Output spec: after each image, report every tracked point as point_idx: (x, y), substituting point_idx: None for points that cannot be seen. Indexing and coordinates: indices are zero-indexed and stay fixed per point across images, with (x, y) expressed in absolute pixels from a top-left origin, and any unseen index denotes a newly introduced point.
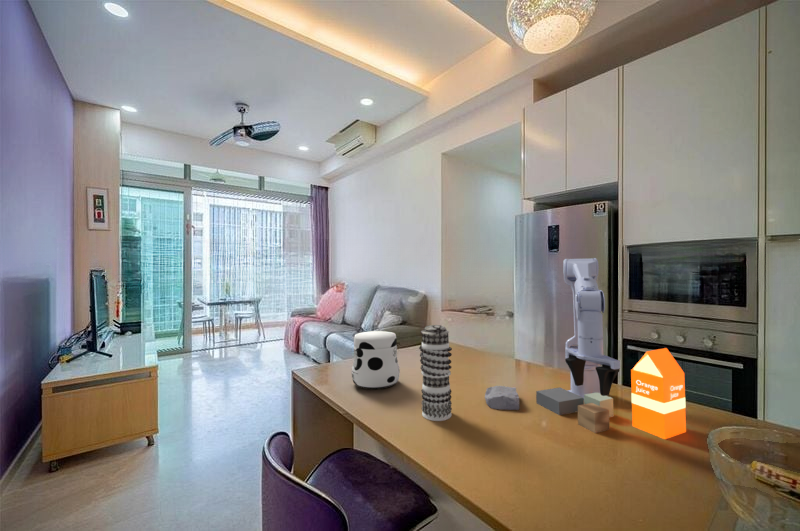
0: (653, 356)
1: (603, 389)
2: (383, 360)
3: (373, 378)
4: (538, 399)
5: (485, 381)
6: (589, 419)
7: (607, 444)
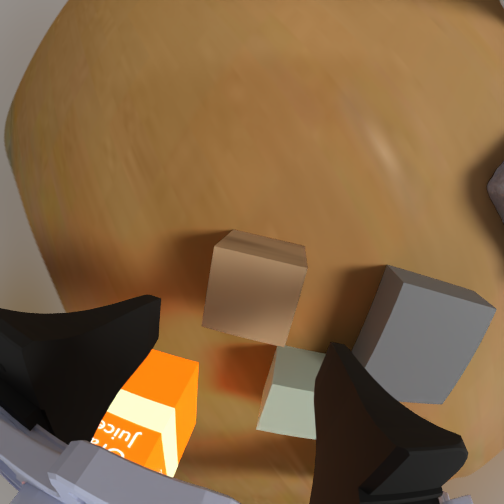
0: None
1: (120, 303)
2: None
3: None
4: (475, 295)
5: None
6: (248, 242)
7: (171, 185)
